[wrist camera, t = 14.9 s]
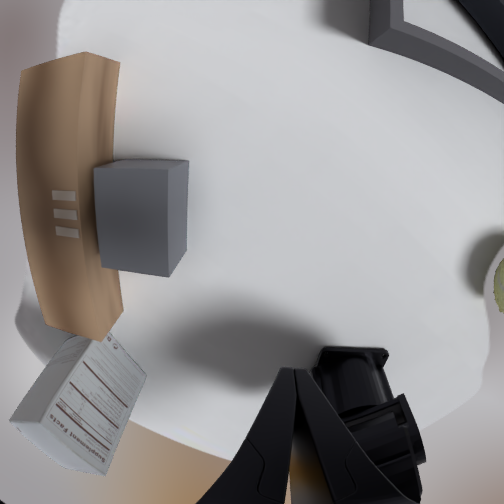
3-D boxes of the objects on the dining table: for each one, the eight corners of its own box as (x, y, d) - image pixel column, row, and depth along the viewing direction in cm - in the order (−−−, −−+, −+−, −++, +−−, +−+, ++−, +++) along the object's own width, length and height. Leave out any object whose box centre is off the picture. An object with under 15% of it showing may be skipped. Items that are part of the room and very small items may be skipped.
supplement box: (106, 385, 28) (63, 469, 17) (65, 338, 26) (5, 419, 14) (150, 376, 27) (107, 479, 15) (104, 322, 24) (35, 423, 13)
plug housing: (189, 160, 18) (168, 169, 14) (187, 249, 21) (169, 277, 17) (125, 159, 18) (93, 168, 15) (127, 243, 21) (101, 267, 17)
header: (187, 57, 15) (163, 39, 11) (176, 321, 23) (160, 357, 19) (58, 74, 16) (20, 70, 11) (70, 298, 24) (45, 325, 19)
